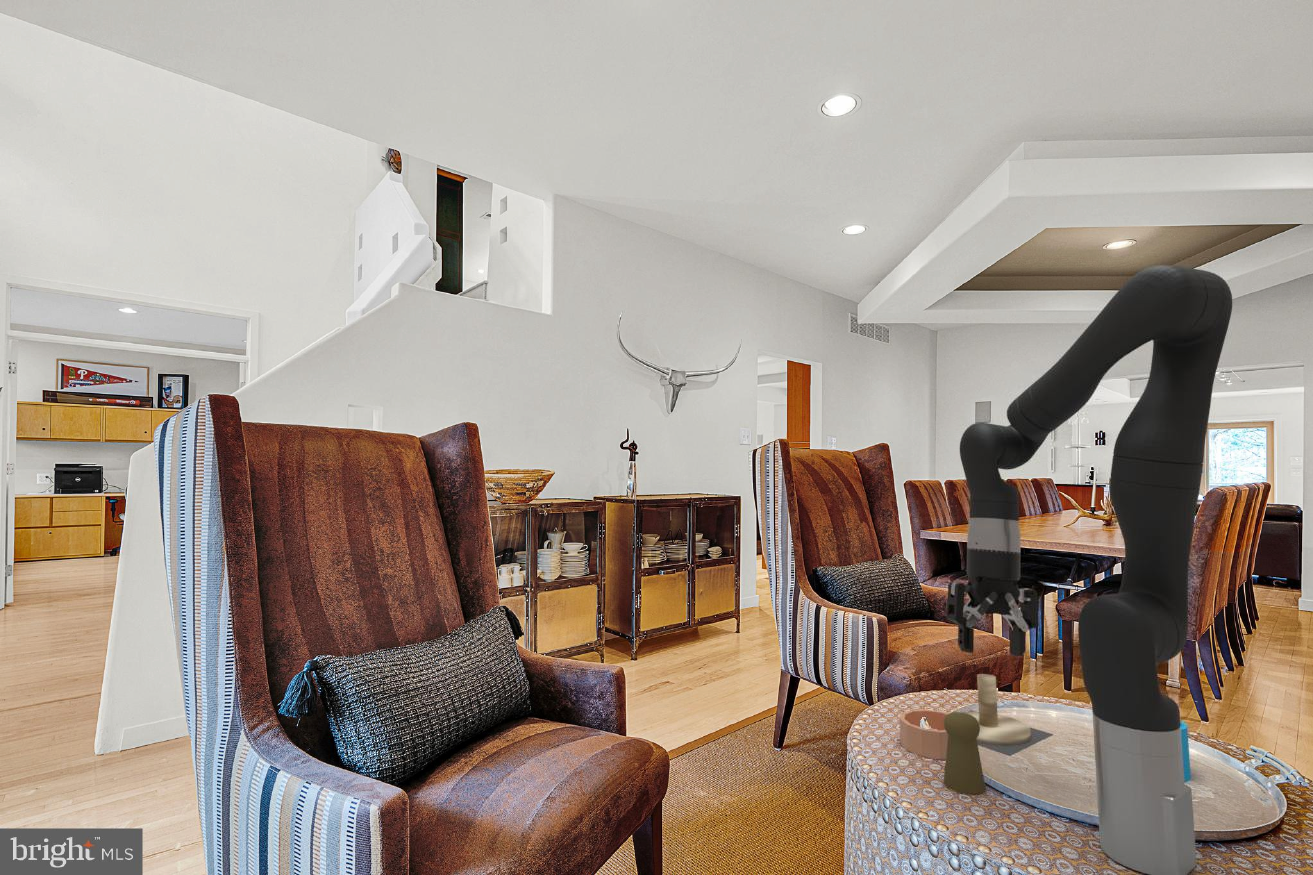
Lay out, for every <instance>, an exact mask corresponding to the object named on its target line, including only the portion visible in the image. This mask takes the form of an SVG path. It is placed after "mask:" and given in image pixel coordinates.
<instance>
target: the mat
mask: <svg viewBox="0 0 1313 875" xmlns="http://www.w3.org/2000/svg"><path fill="white" fill-rule="evenodd" d="M971 711H973V712H977V711H976V710H972V709H971V710H968V711H967V712H971ZM1028 727H1029V728H1030V730H1031V740H1030V741H1029V742H1027V743H1025V744H1021V745H1014V746H1000V745H991V744H984V743H980V742H977V744H978V747H982V748H985V749H988V750H991V751H994V752H997V753H999V754H1002V755H1005V756H1009V757H1010V756H1013V755H1015V754H1017V753H1018V752H1021V751H1023V750H1026V749H1027V748H1029V747H1031V746H1033V745H1035V744H1037V743H1039V742H1041V741H1044V740H1046V739H1048V738H1050V737H1052V736H1054V733H1050V732H1048V731H1044V730H1040V729H1038V728H1037V729H1036V728H1033V727H1030V726H1028Z"/></svg>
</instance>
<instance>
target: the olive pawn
mask: <svg viewBox="0 0 1313 875" xmlns="http://www.w3.org/2000/svg"><path fill="white" fill-rule="evenodd" d="M962 712H963V711H959V712H958V711H954V712H948V713H949V714H947V715H946V717H945V719H944V727H945V730H946V732H947V733H948V742H947V752H946V760H945V766H944V774H943V784H945V785H946V786H947V787H949V788H950V789H949V788H948V789H949V790H951V789H952V790H955V791H957V792H956V793H958V792H960V793H959V794H962V793H965V794H964V795H967V794H978V795H982V794H984V793H986V790H987V788H986V783H985V778H984V773H983V767H982V762H981V755H980V751H979V745H978V744H977V739H976V738H977V737H978V736H979V732H980V725H979V722H978V721H977V719H976V718H975V717H973V716H972V715H970V714H967V713H962ZM945 785H944V786H945ZM946 786H945V787H946ZM947 787H946V788H947ZM952 790H951V791H952ZM955 791H954V792H955ZM983 792H984V793H983Z"/></svg>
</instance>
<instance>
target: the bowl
mask: <svg viewBox="0 0 1313 875" xmlns="http://www.w3.org/2000/svg"><path fill="white" fill-rule="evenodd" d="M949 713H950V712H945V711H942V710H941V711H940V710H933V709H925V708H924V709H909V710H907V711H903V712H901V713H900V716H899V734H900V736H899V737H900V738H899V740H900V745H901V746H902V748H904V749H905V750H906V751H908V752H909V753H912V754H914V755H916V756H919V757H922V758H927V759H932V760H941V761H942V760H944V761H946V752H947V742H948V733H947V732H946V730H945V727H944V719H945V717H946V715H947V714H949ZM922 717H926V720H927V722H928V724H929V726H931V728H933V729H937V730H933V729H925V728H921V727H920V720H921V719H922Z"/></svg>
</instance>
